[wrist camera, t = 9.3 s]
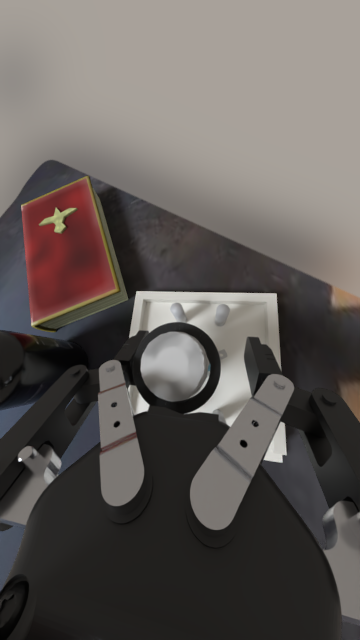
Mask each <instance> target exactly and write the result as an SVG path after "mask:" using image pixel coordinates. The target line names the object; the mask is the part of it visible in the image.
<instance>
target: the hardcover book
mask: <svg viewBox="0 0 360 640" xmlns="http://www.w3.org/2000/svg"><path fill="white" fill-rule="evenodd" d="M21 209H22V220H23V232H24V243H25V255H26V267H27V278H28V290H29V302H30V313H31V325H32V327H33V328H36V329H39V330H42V331H47V332H56V329H57V328H60V327H62V326H65V325H67V324H70V323H72V322H74V321H77V320H79V319H82V318H84V317H87V316H89V315H92V314H94V313H97V312H99V311H102V310H104V309H107V308H109V307H112V306H114V305H117V304H119V303H122V302H124V301H127V300H128V296H127V293H126V289H125V286H124V282H123V279H122V275H121V272H120V268H119V265H118V261H117V258H116V254H115V251H114V247H113V244H112V240H111V237H110V233H109V230H108V226H107V223H106V219H105V216H104V212H103V209H102V205H101V202H100V199H99V197H98V196H97V194H96V193H95V191H94V189H93V188H92V184H91V181H90V178H89V176H85V177H83V178H81V179H79V180H76V181H74V182H72V183H70V184H67V185H65V186H63V187H61V188H58V189H56V190H54V191H52V192H49V193H47V194H45V195H43V196H40V197H38V198H36V199H34V200H31V201H29V202H27V203H25V204H22V205H21Z"/></svg>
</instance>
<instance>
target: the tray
mask: <svg viewBox="0 0 360 640" xmlns="http://www.w3.org/2000/svg"><path fill="white" fill-rule="evenodd" d="M172 322H183V323H188V324H191V325H194V326H196V327H198V328H200V329H201V330H203V331H204V332H205V333H206V334H207V335H208V336H209V337H210V338H211V339H212V341H213V342H214V344H215V346H216V348H217V350H218V351H221V350H223V349H224V350H225V351H226V353H227V355H228V356H227V357H226V358H224V359H222V360H220V361H221V374H220V379H219V383H218V386H217V388H216V390H215V392H214V393H213V395H212V396H211V398H210V399H209V400H208V401H207V402H206V403H205V404H204V405H203V406H201V407H200V408H198V409H197V410H195V411H192V412H190V413H197V412H204V413H212V414H219V421H222V422H224V423H225V424H227V425H228V426H230V427H231V425H232V424H233V422H234V421H235V419H236V418H237V417H238V415H239V414H240V412H241V411H242V409H243V408H244V406H245V405H246V403H247V402H248V400H249V399H250V398H251V397H252V395H251V390H250V385H249V381H248V376H247V372H246V367H245V362H244V351H245V345H246V339H247V337H259V339H260V342H261V344H266V345H267V346H268V347H270V348H271V349H272V352H273V354H274V356H275V358H276V361H277V363H278V365H279V367H280V369H281V357H280V341H279V325H278V309H277V293H214V292H151V291H136V298H135V304H134V310H133V316H132V322H131V328H130V335H129V338H130V337H132V336H135V335H136V334H137V332H138V331H139V330H144V331H149V333H150V332H151V331H152V330H154V329H155V328H157V327H159V326H161V325H164V324H167V323H172ZM219 355H220V356H221V357H222V356H223V354H219ZM209 375H210V371H208V372H207V378H206V380H205V382H204V384H203V385H202V387H201V388H200V390H199V391H198V392H197V393H196V394H194V395H193V396H195V395H197V394H198V393H199V392H200V391H201V390H202V389H203V388H204V387H205V385H206V383H207V381H208V379H209ZM128 391H129V395H130V399H131V403H132V407H133V411H134V415H136V414H138V413H141V412H145V411H148V408H149V404H148V403H147V402H146V401H145V400H144V399H143V398H142V396H141V395H140V393H139V391H138V390H137V387H136V386H133V385H130V386H129V388H128ZM193 396H191V397H193ZM191 397H190V398H191ZM186 414H189V413H186ZM282 455H287V453H286V437H285V423H283V422H280V424H279V426H278V429H277V431H276V433H275V435H274V437H273V440H272V442H271V444H270V446H269V448H268V451H267V453H266V455H265V458H264V460H268V461H274V462H280V463H283V461H282Z"/></svg>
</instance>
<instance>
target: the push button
mask: <svg viewBox="0 0 360 640" xmlns="http://www.w3.org/2000/svg"><path fill="white" fill-rule="evenodd" d="M219 354H223V356H222V357H221V356H220V355H219ZM227 356H228V355H227V353H226V351H225V350H224V349H223V350H221V351H218V350H217V348H216V346H215V344H214V342H213V341H212V339H211V338H210V337H209V336H208V335H207V334H206V333H205V332H204V331H203V330H201V329H200V328H198V327H196V326H194V325H191V324H188V323H183V322H172V323H167V324H164V325H161V326H159V327H157V328H155V329H154V330H152V331H151V332H150V333H149V334H148V335H147V336H146V337H145V338H144V339H143V340H142V342H141V343H140V345H139V347H138V349H137V351H136V354H135V357H134V362H133V376H134V381H135V385H136V387H137V390H138V391H139V393H140V395H141V396H142V398H143V399H144V400H145V401H146V402H147V403H148V404H149V405H150V406H158V407H166V408H168V409H170V410H173V411H175V412H178V413H180V414H186V413H190V412H192V411H195V410H197V409H198V408H200V407H201V406H203V405H204V404H205V403H206V402H207V401H208V400H209V399H210V398H211V396H212V395H213V393H214V392H215V390H216V388H217V386H218V383H219V379H220V374H221V361H220V360H222V359H224V358H226V357H227ZM208 371H210V375H209V379H208V381H207V383H206V385H205V387H204V388H203V389H202V390H201V391H200V392H199V393H198V394H197V395H195V396H193V395H194V394H196V393H197V392H198V391H199V390H200V388H201V387H202V385H203V384H204V382H205V380H206V378H207V372H208ZM191 396H193V397H191ZM190 397H191V398H190Z"/></svg>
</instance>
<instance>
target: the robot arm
mask: <svg viewBox="0 0 360 640" xmlns="http://www.w3.org/2000/svg"><path fill="white" fill-rule="evenodd" d="M148 334H149V331H144V330H139V331H138V332H137V334H136V335H135V336H132V337H130V338H129V339H127V341H126V342H125V344H124V345H123V346H122V348H121V349H120V350H119V352H118V353H117V355H116V356H115V357H114V359H113V360H110V361H107V362H105V363H104V364H102V365H101V366H100V368H99V369H93V370H87V368H86V366H84V365H76V366H73V367H71V368H69V369H68V370H67V371H66V372H65V373H64V374H63V375H62V376H61V377H60V378H59V379H58V380H57V381H56V382H55V383H54V384H53V385H52V386H51V387H50V388H49V389H48V390H47V391H46V392H45V393H44V394H43V396H42V397H41V398H40V399H39V400H38V401H37V402H36V403H35V404H34V405H33V406H32V407H31V408H30V409H29V410H28V411H27V412H26V413H25V414H24V415H23V416H22V417H21V418H20V419H19V420H18V422H17V423H16V424H15V425H14V426H13V427H12V428H11V429H10V430H9V431H8V432H7V433H6V434H5V435H4V436H3V437H2V438H1V439H0V531H5V530H7V529H9V528H11V527H13V526H15V527H19V528H23V529H25V530H24V534H23V538H22V541H21V545H20V548H19V551H18V554H17V556H16V559H15V561H14V564H13V566H12V569H11V571H10V573H9V576H8V578H7V580H6V582H5V584H4V586H3V588H2V590H1V591H0V640H341V629H342V621H345V622H348V623H352V624H355V625H358V626H360V422H359V421H358V420H357V418H356V417H355V415H354V414H353V413H352V411H351V410H350V408H349V407H348V406H347V404H346V403H345V401H344V400H343V399H342V398H341V397H340V396H339V395H337V394H336V393H334V392H332V391H330V390H327V389H323V388H317V389H315V390H313V392H312V393H311V392H308V391H305V390H302V389H299V388H296V387H294V385H293V383H292V382H291V381H290V380H289V379H288V378H286V377H284V376H283V374H282V372H281V369H280V367H279V365H278V363H277V361H276V358H275V356H274V354H273V352H272V349H271V348H270V347H268V346H267V345H266V344H261V342H260V339H259V337H247V339H246V345H245V351H244V362H245V367H246V372H247V376H248V381H249V385H250V390H251V395H252V397H251V398H250V399H249V400H248V402H247V403H246V405H245V406H244V408H243V409H242V411H241V412H240V414H239V415H238V417H237V418H236V419H235V421H234V422H233V424H232V425H231V427H230V426H228V425H227V424H225V423H224V422H222V421H219V414H212V413H204V412H197V413H189V414H180V413H178V412H175V411H173V410H170V409H168V408H166V407H158V406H150V405H149V408H148V411H145V412H141V413H138V414H136V415H134V411H133V407H132V403H131V399H130V395H129V391H128V388H129V386H130V385H133V386H136V385H135V381H134V376H133V362H134V357H135V354H136V351H137V349H138V347H139V345H140V343H141V342H142V340H143V339H144V338H145V337H146V336H147V335H148ZM73 397H74V399H73V400H72V402H71V403H70V404H69V406H68V407H67V408H66V406H67V404H68V403H69V402H70V400H71V399H72V398H73ZM97 401H98V404H99V421H100V439H101V442H99V443H98V444H97V445H96V446H94V447H93V448H92V449H91V450H89V451H88V452H87V453H86V454H85V455H83V456H82V457H81V458H80V459H78V460H77V461H76V462H75V463H73V464H72V465H71V466H70V467H68V468H67V469H66V470H65V471H63V472H62V473H61V474H60V475H58V472H59V470H60V467H61V457H62V455H63V454H64V452H65V451H66V449H67V448H68V446H69V444H70V443H71V441H72V440H73V438H74V436H75V435H76V433H77V432H78V430H79V429H80V427H81V425H82V424H83V422H84V421H85V419H86V417H87V416H88V414H89V413H90V411H91V410H92V408H93V406H94V405H95V403H96V402H97ZM65 408H66V409H65ZM280 422H283V423H285V424H288V425H290V426H292V427H295V428H297V429H298V430H299V432H300V435H301V438H302V440H303V443H304V445H305V448H306V450H307V453H308V455H309V458H310V460H311V463H312V465H313V468H314V471H315V473H316V476H317V478H318V481H319V483H320V486H321V488H322V491H323V493H324V496H325V499H326V501H327V504H328V506H329V510H328V511H327V512H326V513H325V514H324V516H323V528H324V532H325V537H326V546H325V550H323V549H322V547H321V546H320V544H319V542H318V541H317V539H316V537H315V536H314V534H313V533H312V532H311V530H310V529H309V528H308V526H307V525H306V524H305V522H304V521H303V520H302V518H301V517H300V516H299V514H298V513H297V512H296V510H295V509H294V508H293V506H292V505H291V504H290V502H289V501H288V500H287V498H286V497H285V496H284V494H283V493H282V492H281V490H280V489H279V488H278V486H277V485H276V484H275V482H274V481H273V480H272V478H271V477H270V476H269V474H268V473H267V472H266V470H265V469H264V468H263V466H262V465H261V464H262V462H263V460H264V458H265V455H266V453H267V451H268V448H269V446H270V444H271V442H272V440H273V437H274V435H275V433H276V431H277V429H278V426H279V424H280Z"/></svg>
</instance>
